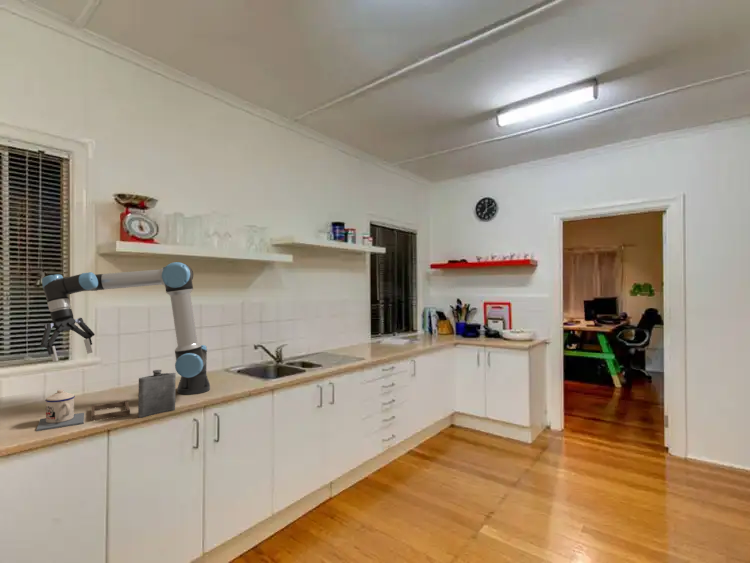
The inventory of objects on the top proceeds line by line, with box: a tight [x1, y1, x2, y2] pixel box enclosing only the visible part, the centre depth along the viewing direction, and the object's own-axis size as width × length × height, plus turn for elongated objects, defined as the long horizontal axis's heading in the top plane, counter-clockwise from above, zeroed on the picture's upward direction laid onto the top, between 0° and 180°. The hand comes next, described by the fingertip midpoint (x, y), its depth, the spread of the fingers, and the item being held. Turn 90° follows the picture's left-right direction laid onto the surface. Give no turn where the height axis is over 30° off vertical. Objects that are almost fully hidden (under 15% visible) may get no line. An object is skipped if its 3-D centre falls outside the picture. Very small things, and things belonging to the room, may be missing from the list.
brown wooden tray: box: [91, 400, 131, 422], centre depth 169 cm, size 13×16×2 cm
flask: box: [137, 369, 177, 419], centre depth 169 cm, size 4×14×18 cm, turn 139°
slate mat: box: [36, 412, 85, 432], centre depth 157 cm, size 14×14×1 cm
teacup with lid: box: [45, 389, 75, 423], centre depth 158 cm, size 12×9×12 cm
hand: (73, 357), depth 175 cm, fingers open, 13 cm apart
